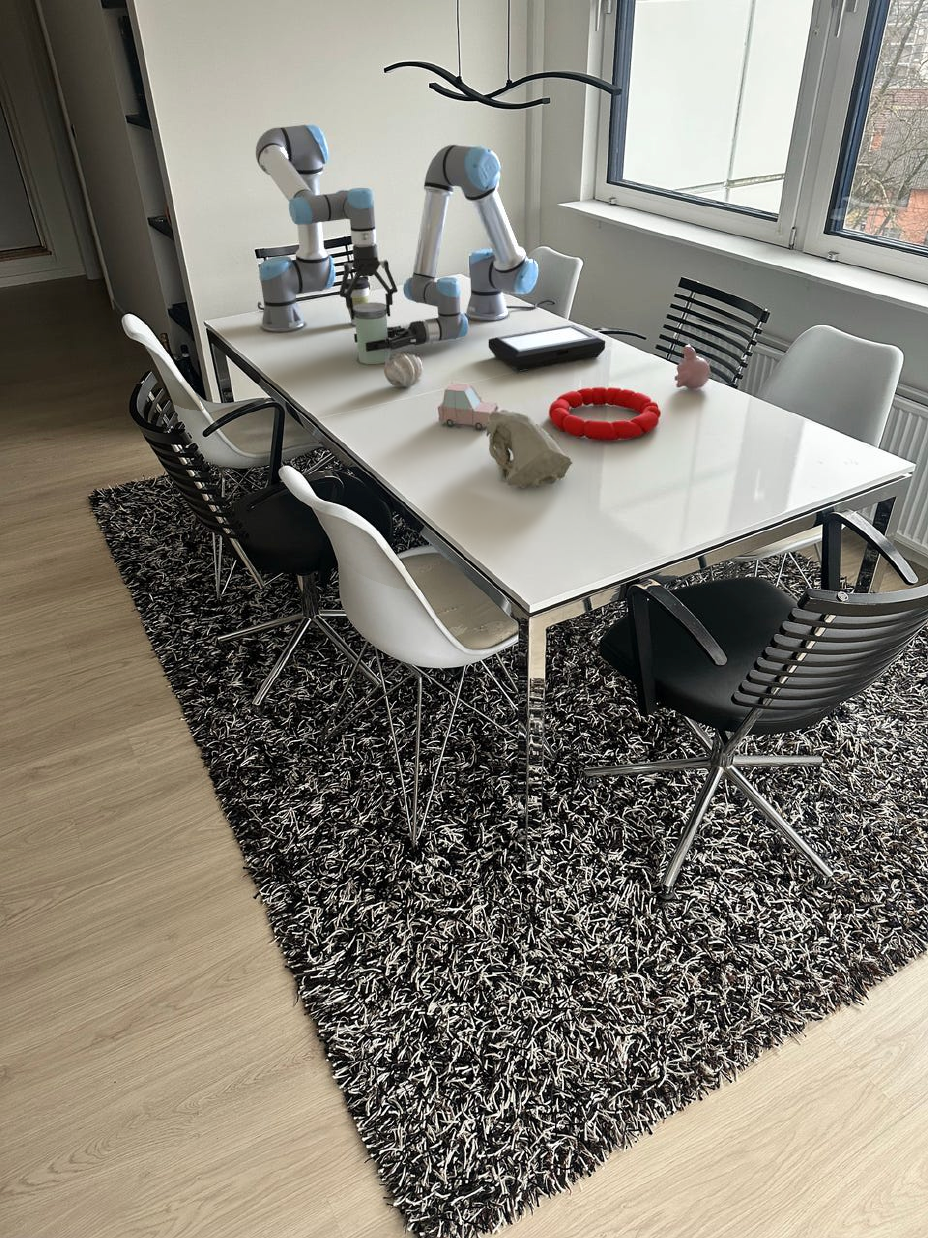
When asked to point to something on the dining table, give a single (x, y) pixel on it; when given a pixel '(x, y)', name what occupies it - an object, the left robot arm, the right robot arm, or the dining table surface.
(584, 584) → the dining table surface
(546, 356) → the electronic device
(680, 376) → the figurine
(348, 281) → the coffee cup
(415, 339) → the right robot arm
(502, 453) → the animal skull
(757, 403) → the dining table surface
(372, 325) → the jar
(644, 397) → the decorative ring
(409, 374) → the seashell
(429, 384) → the dining table surface
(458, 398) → the toy car
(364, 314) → the lid
